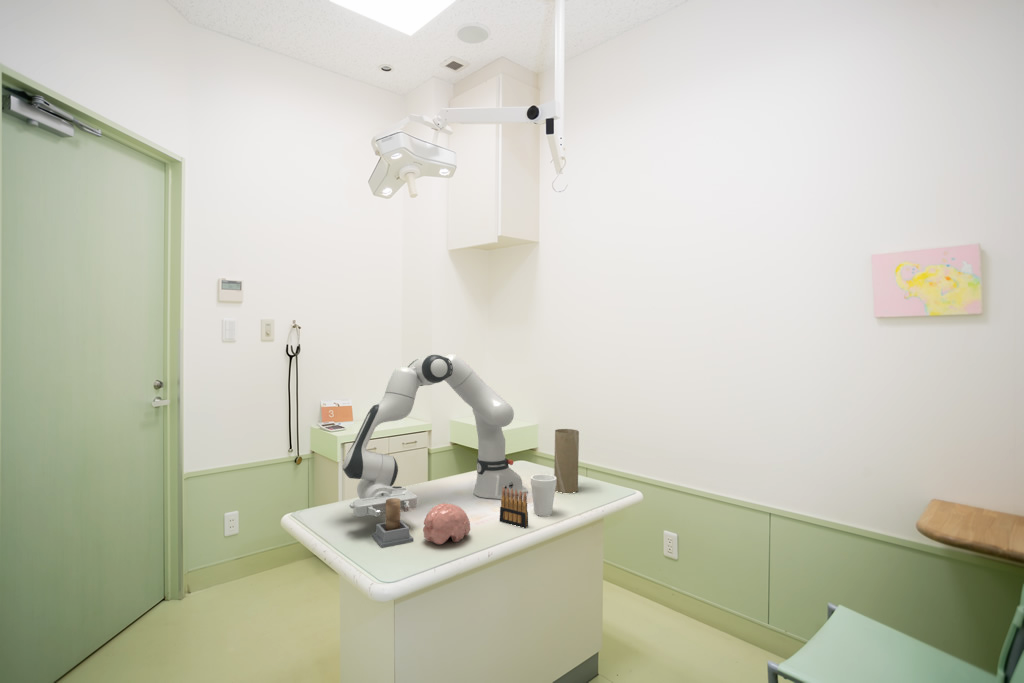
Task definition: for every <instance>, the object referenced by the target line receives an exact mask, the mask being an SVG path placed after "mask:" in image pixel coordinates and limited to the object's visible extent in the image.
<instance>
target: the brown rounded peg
mask: <svg viewBox="0 0 1024 683" xmlns="http://www.w3.org/2000/svg"><path fill="white" fill-rule="evenodd" d="M400 520H401V510H400V499H398V498H391V499H387V500H386V513H385V523H386V524H385V531H391V530H396V529H400Z"/></svg>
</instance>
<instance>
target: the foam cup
mask: <svg viewBox="0 0 1024 683" xmlns="http://www.w3.org/2000/svg"><path fill="white" fill-rule="evenodd" d="M530 486H531V497H532V504H533V511H534V512H533V513H534V515H535V516H538V515H539V516H538V517H549V516H548V515H550V516H551V515H552V513H553V508H554V507H553V506H554V500H555V492H556V491H555V487H556V477H555V476H554V474H553V475H552V474H545V473H542V474H541V473H540V474H539V473H538V474H537V473H536V474H533V475H531V476H530Z"/></svg>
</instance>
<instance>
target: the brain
mask: <svg viewBox="0 0 1024 683" xmlns="http://www.w3.org/2000/svg"><path fill="white" fill-rule="evenodd" d="M423 525H424V527H423V528H422V531H423V532H422V533H423V538H424V539H425V540H427V541H428V542H431V543H434V544H435V545H443V544H444V543H445V542H447V541H448V540H449V538H451V540H452V542H454V543H458V542H460V540H462V539H463V538H464V536H467V535H469V533H470V532H471V522H470V519H469V517H468V515H467V513H466V511H465V510H464V509H462V507H460V506H458V505H455V504H453V503H438V504H437V505H435V506H433V507H432V508H431V509H430V510H429V511H428V513H427V514H426V516H425V518H424V521H423Z"/></svg>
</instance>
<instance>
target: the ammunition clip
mask: <svg viewBox="0 0 1024 683" xmlns="http://www.w3.org/2000/svg"><path fill="white" fill-rule="evenodd" d="M499 522H500V523H504V524H507V525H511V524H512V525H511V526H514V525H516V526H515V527H518V526H520V528H522V527H524V528H523V529H526V527H527V528H528V527H529V512H528V500H527V493H526V492H524V494H522V492H521V490H520V492H519V495H518V492H517V489H516V490H515V495H514V493H513V489H511V492H510V496H509V488H507V491H506V497H505V488H504V487H503V489H502V498H501V499H500V506H499Z"/></svg>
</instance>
